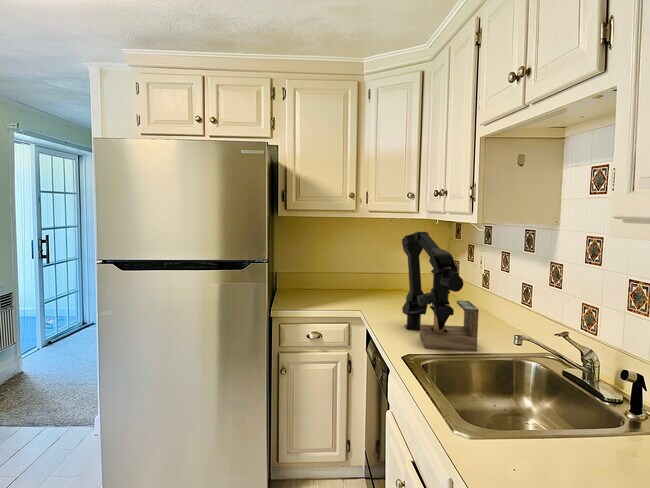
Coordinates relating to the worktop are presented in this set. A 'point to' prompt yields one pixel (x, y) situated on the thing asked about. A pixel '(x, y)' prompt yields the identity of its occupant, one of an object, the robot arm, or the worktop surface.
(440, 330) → the peg
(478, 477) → the worktop surface
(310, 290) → the worktop surface
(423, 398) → the worktop surface
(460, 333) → the socket station
